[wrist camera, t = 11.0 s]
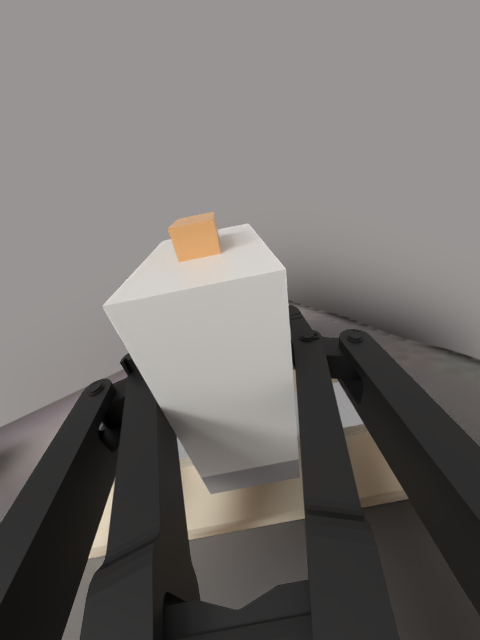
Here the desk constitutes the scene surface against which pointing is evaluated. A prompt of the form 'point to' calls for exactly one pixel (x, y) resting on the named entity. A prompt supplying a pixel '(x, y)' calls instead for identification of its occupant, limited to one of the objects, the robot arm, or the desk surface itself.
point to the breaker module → (216, 350)
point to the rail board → (268, 496)
